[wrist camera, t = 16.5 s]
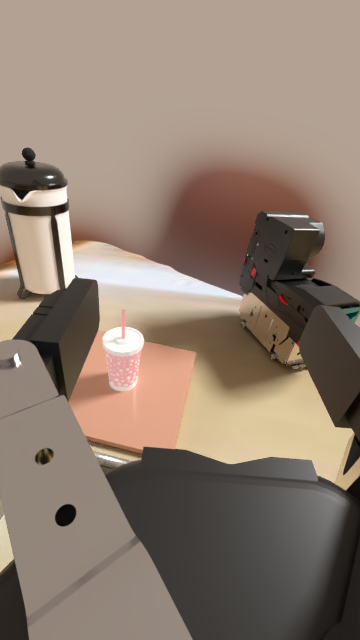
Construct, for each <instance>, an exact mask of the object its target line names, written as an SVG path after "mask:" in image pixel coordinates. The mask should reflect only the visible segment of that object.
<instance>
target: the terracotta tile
mask: <svg viewBox="0 0 360 640" xmlns="http://www.w3.org/2000/svg"><path fill="white" fill-rule="evenodd" d="M105 333H106V332H101V331H98V332H97V334H96V337H95V339H94V342H93V344H92V346H91V349H90V351H89V354H88V356H87V358H86V361H85V363H84V366H83V368H82V370H81V373H80V375H79V378H78V380H77V382H76V385H75V387H74V390H73V392H72V394H71V397H70V399H69V402H68V403H69V405H70V407H71V409H72V411H73V413H74V415H75V417H76V419H77V421H78V423H79V425H80V427H81V429H82V431H83V433H84V435H85V437H86V439H87V440H89V441H93V442H97V443H101V444H104V445H108V446H112V447H116V448H120V449H124V450H128V451H132V452H136V453H140V454H142V453H143V447H155V448H168V449H175V446H176V442H177V437H178V433H179V428H180V424H181V420H182V415H183V411H184V406H185V402H186V398H187V393H188V389H189V384H190V380H191V376H192V371H193V367H194V362H195V358H196V353H197V352H193V351H189V350H184V349H180V348H175V347H170V346H166V345H161V344H156V343H152V342H147V341H144V344H143V347H142V349H141V356H140V364H139V371H138V379H137V383H136V386H135V387H134V388H133V389H131V390H128V391H123V392H122V391H116V390H115V389H113V388H112V387H111V386H110V384H109V376H108V368H107V360H106V352H105V349H104V348H103V340H102V338H103V336H104V334H105Z"/></svg>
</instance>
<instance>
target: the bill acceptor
mask: <svg viewBox="0 0 360 640" xmlns="http://www.w3.org/2000/svg"><path fill="white" fill-rule="evenodd" d="M255 224H256V225H255V229H254V232H253V234H252V236H251V239H250V242H249V246H248V249H247V253H246V256H245V260H244V264H243V268H242V273H241V277H240V285H241V286H242V288H241V290H243V292H244V293H245V294H244V296H243V299H242V303H241V306H240V310H239V311H240V314H239V317H240V318H241V319H242V320H243V321H241V323H242V324H243V327H242V328H244V326H246V327H247V328H248V329H250V331H251V332H252V333H253V335H254V336H255V337H256V338H258V340H259V341H260V342H261V343H262V345H263V346H264V347H265V348H267V350H268V351H269V352H270V355H271V360H272V359H277V358H278V360H279V361H280V362H281V363H282V364H286V365H290V366H291V367H293V368H294V369H298V368H299V366H300V367H301V368H303V367H306V365H305V363H304V361H303V359H302V357H301V355H300V352H299V341H300V338H301V335H302V333H303V331H304V329H305V327H306V324H307V322H308V320H309V318H310V315H311V313H312V311H313V309H314V308H315V307H316V306H317V305H324V306H333V307H340V308H341V309H342V310H343V311H344V312H345V314H346V315H347V316H348V317H349V319H350V320H351V321H352V322H353V323H355V321H356V319H357V317H358V316H359V314H360V301H358V300H357V299H355V298H353V297H352V296H350V295H349V294H347V293H346V292H344V291H343V290H341V289H340V288H338V287H336V286H334V285H331V284H329V283H327V282H324V281H322V280H318V279H315V278H313V279H312V280H308V279H306V278H312V277H313V276H314V274H315V271H314V269H313V268H311V267H309V266H308V265H306V262H307V261H308V259H309V257H313V256H315V255H317V254H318V253H319V252H320V250H321V249H322V247H323V245H324V240H325V232H324V228H323V224H322V223H321V222H319V221H317V220H315V219H313V218H309V217H308V215H306V214H304V213H297V212H269V211H262V212H260V213H259V214H258V215H257V218H256V221H255ZM296 363H297V364H298V365H299V366H298V365H297V364H296ZM300 363H303V364H300Z"/></svg>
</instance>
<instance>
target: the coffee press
mask: <svg viewBox="0 0 360 640" xmlns="http://www.w3.org/2000/svg"><path fill="white" fill-rule="evenodd" d="M22 155H23V157H24V158H25V159H26V160H27V161H16V162H8V163H5V164H3V165H2V166H0V192H1V196H2V197H1V202H2V207H3V209H4V210H5V215H6V221H7V225H8V229H9V234H10V238H11V243H12V247H13V252H14V256H15V261H16V265H17V269H18V274H19V278H20V283H21V286H20V289H19V291H18V293H17V295H18V296H19V297H20V298H21V299H25V298H26V297H27V296H28V294H29V293H30V292H33V293H38V294H51V293H53V292H55V291H57V290H66V288H67V287H68V285H69V284H70V283H71V281H72V280H73V279H74V278H78V277H77V276H76V275H75V271H74V261H73V251H72V242H71V232H70V222H69V213H68V210H69V202H68V198H67V193H66V187H67V185H68V183H67V179H66V178H64V175H63V173H62V172H61V171H60V170H59V169H58V168H56V167H55V166H52V165H49V164H46V163H40V162H34V161H33V160H34V159H35V153H34V151H33V150H32V149H30V148H24V149H23V151H22ZM24 288H25V289H27V290H26V291H25V293H24V294H23V295H22V296H21V294H22V292H23V289H24Z"/></svg>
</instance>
